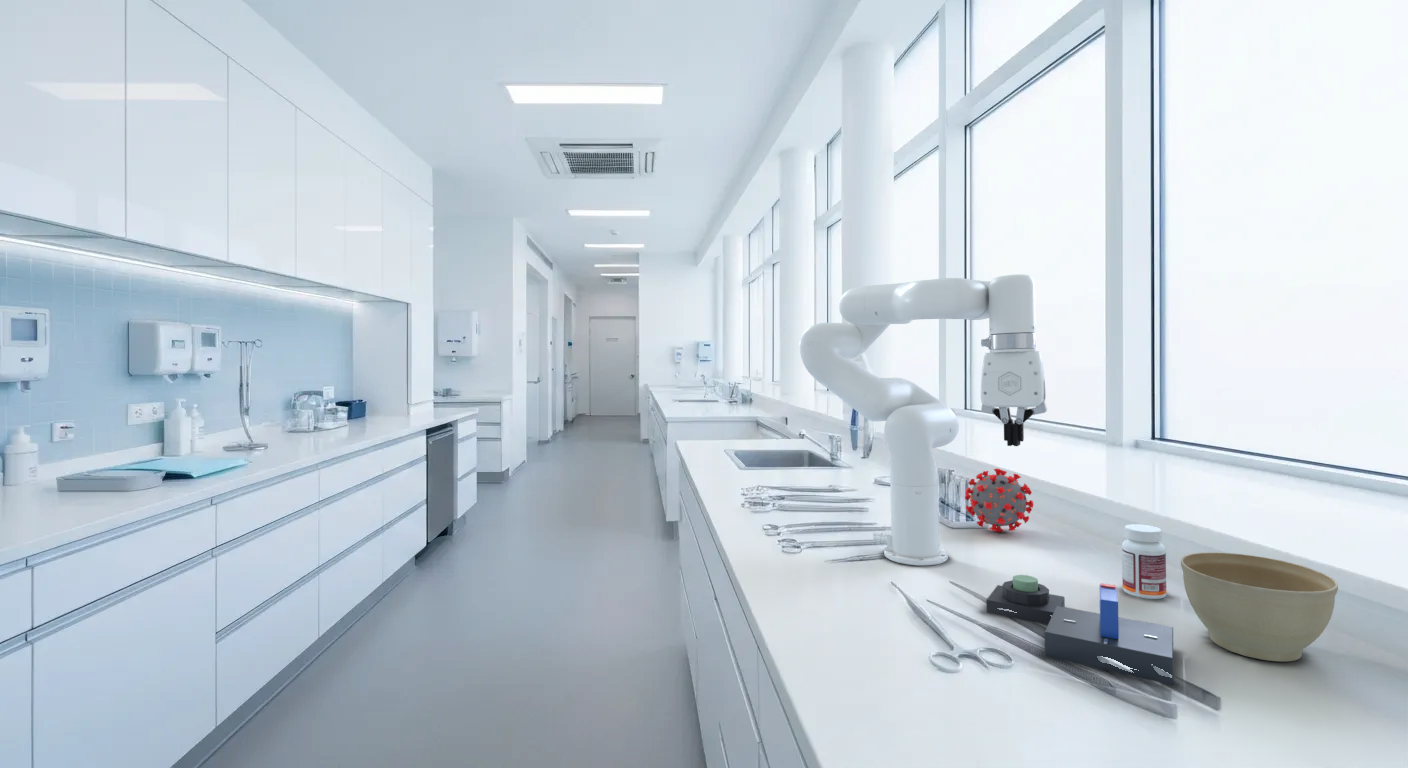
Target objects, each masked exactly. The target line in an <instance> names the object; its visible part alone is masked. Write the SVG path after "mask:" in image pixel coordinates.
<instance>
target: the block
mask: <svg viewBox="0 0 1408 768" xmlns="http://www.w3.org/2000/svg"><path fill="white" fill-rule="evenodd" d="M1065 598H1066V597H1065V596H1063V595H1058V594H1052V593H1050V589H1049V588H1048V587H1047V586H1046V585H1044V584H1042V583H1038V591H1036V592H1025V591H1019V590H1017V589H1014V588H1013V579H1012V580H1007V581H1004V582H1003V583H1002V585H1000V584H997V585H996V586H995V588H994V589H993V591H991V593H990V595H988V597H987V599H986V600H985V601H986V614H991V615H997V616H1000V617H1001V616H1002V617H1006V618H1007V617H1008V618H1012V619H1018V620H1022V621H1026V622H1027V621H1028V622H1032V623H1037V624H1042V625H1047V626H1048V624H1049V622H1050V619H1051V616H1050V615H1053V613H1054V611H1055V609H1056V606H1061V607H1066V605H1065V601H1066V599H1065ZM997 608H1003V609H1009V610H1012V611H1014V612H1017V613H1014V612H1009V611H1004V610H999V609H997Z"/></svg>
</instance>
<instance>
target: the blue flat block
mask: <svg viewBox="0 0 1408 768" xmlns="http://www.w3.org/2000/svg"><path fill="white" fill-rule="evenodd" d="M1098 588H1099V614H1100V633H1101V636H1102V637H1108V638H1114V639H1119V625H1118V617H1119V597H1118V588H1117V586H1116V585H1115V584H1112V583H1105V582H1104V583H1103V582H1100V584H1099V587H1098Z"/></svg>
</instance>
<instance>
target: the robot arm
mask: <svg viewBox="0 0 1408 768" xmlns="http://www.w3.org/2000/svg"><path fill="white" fill-rule="evenodd" d="M838 311H839V313H840V315H841V317H842V319H844V320H845V321H846V322H847V323H846V322H820V323H815V324H813V325H811V326H809V327H807V328H806V329H805V330H804V331H803V333H802V334H801V337H800V340H799V353H800V358H801V360H802V363H803V365H804V367H805V369H806V370H807V372H808V373H809V374H810V375H811V377H812V378H814V379H815V381H817V382H818V383H820V384H821V385H822V386H823V387H825V388H826V389H828V390H829V391H830V392H832V393H833V394H834V395H836V396H837V398H839V399H840V400H841V401H843V402H844V403H845V404H847V405H848V406H850V407H851V408H852V409H853V410H854V411H856V412H857V413H858V414H859V415H861V417H863V418H865V419H866V420H868V421H871V422H885V423H884V427H883V429H884V431H883V432H884V439H885V445H886V448H887V454H888V463H889V464H888V465H889V483H890V485H889V486H890V488H889V489H890V531H888V532H883V531H877V530H875V531H874V532H873V533H872V534H873V535H872V537H873V540H874V542H875V543H877V544H884V545H885V548H884V549H883V554H884V555H883V556H884V557H885V558H886V559H888V560H890V561H892V562H895V563H898V564H902V565H910V566H937V565H940V564H943V563H945V562H947V561H948V559H949V553H948V552H947V550H945V549H943V548H941V546H940V503H939V502H940V499H939V496H940V495H939V471H938V465H937V462H936V458H935V455H934V452H933V449H937V448H942V447H945V446H947V445H949V444H951V443H952V442H953V441H955V439H956V437H957V436H958V434H959V429H960V425H959V421H958V418H957V415H956V414H955V412H954V411H953V410H952V409H951V408H950V407H949V406H948V405H947V404H945V403H944V402H942V401H941V400H940V399H939V398H937V397H936V396H934V395H932V394H931V393H930V392H928V391H926V390H925V389H924V388H922V387H920V386H919V385H918V384H915V382H912V381H911V380H909V379H906V378H902V377H879V376H876V375H875V374H872V373H871V372H869V371H868V370H866V369H865V368H863V367H862V366H861V365H859V364H858V363H856V362H855V361H853V360H850V359H854V358H857V357H859V356H861V355H862V354H864V353H865V352H866V351H867V350H868V349H869V348H870V347H871V345H873V344H874V343H875V342H876V340H877V339H878V338H879V337H880V336H881V335H882V334H884V332H885V331H886V330H887V329H888V328H889V327H890V325H907V324H910V323H912V321H915V320H917V321H918V320H943V319H944V320H968V321H981V320H986V319H988V326H989V327H988V333H989V334H988V336H987V337H986V338H982V339H981V340H980V345H981V347H986V348H988V351H989V352H985V353H984V356H983V359H982V360H983V361H982V368H981V381H980V402H981V412H983V413H986V414H991V415H994V416H995V417H996V418H997V419H998V420H1000V422H1001V423H1002V424H1003V441H1005V442H1006V445H1007V447H1012V446H1013V447H1019V446H1021V442H1024V439H1025V437H1024V436H1025V435H1024V434H1025V433H1024V432H1025V431H1024V423H1026V422H1027V420H1029V419H1030V418H1031V417H1032V416H1035V415H1041V414H1044V413H1047V412H1048V407H1047V403H1046V395H1047V394H1046V392H1047V391H1046V381H1045V370H1044V364H1043V358H1042V354H1041V351H1040V350H1037V340H1036V339H1037V338H1036V337H1037V336H1036V335H1037V333H1036V332H1037V331H1036V326H1037V325H1036V283H1035V279H1034V278H1033V277H1032V276H1031V275H1029V274H1006V275H1001V276H996V277H994V278H992V279H991V280H979V279H969V278H964V277H963V278H962V277H948V278H947V277H944V278H934V279H933V278H932V279H921V280H914V281H905V282H898V283H886V284H873V285H863V286H862V285H861V286H855V287H852V288H849V289H847V290H846V291H845V292H843V294H842V296H841V297H840V299H839V302H838ZM1011 408H1017V409H1016V414H1015V420H1014V419H1012V413H1011Z"/></svg>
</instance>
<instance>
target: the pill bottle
mask: <svg viewBox="0 0 1408 768" xmlns="http://www.w3.org/2000/svg"><path fill="white" fill-rule="evenodd" d="M1162 534H1163V532H1162V529H1161V528H1160V527H1158V526H1157V527H1156V526H1153V525H1148V524H1139V523H1137V524H1136V523H1135V524H1133V523H1131V524H1126V525H1125V526H1124V537H1125V538H1126V540H1124V541H1123V542H1122V544H1121V564H1122V565H1121V566H1122V589H1123V592H1125V593H1126V594H1128V595H1130V596H1133V597H1136V598H1142V599H1148V600H1159V599H1163V598H1166V596H1167V551H1166V546H1165V545H1164V544H1163V543H1161V542H1162V541H1163V537H1162Z"/></svg>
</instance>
